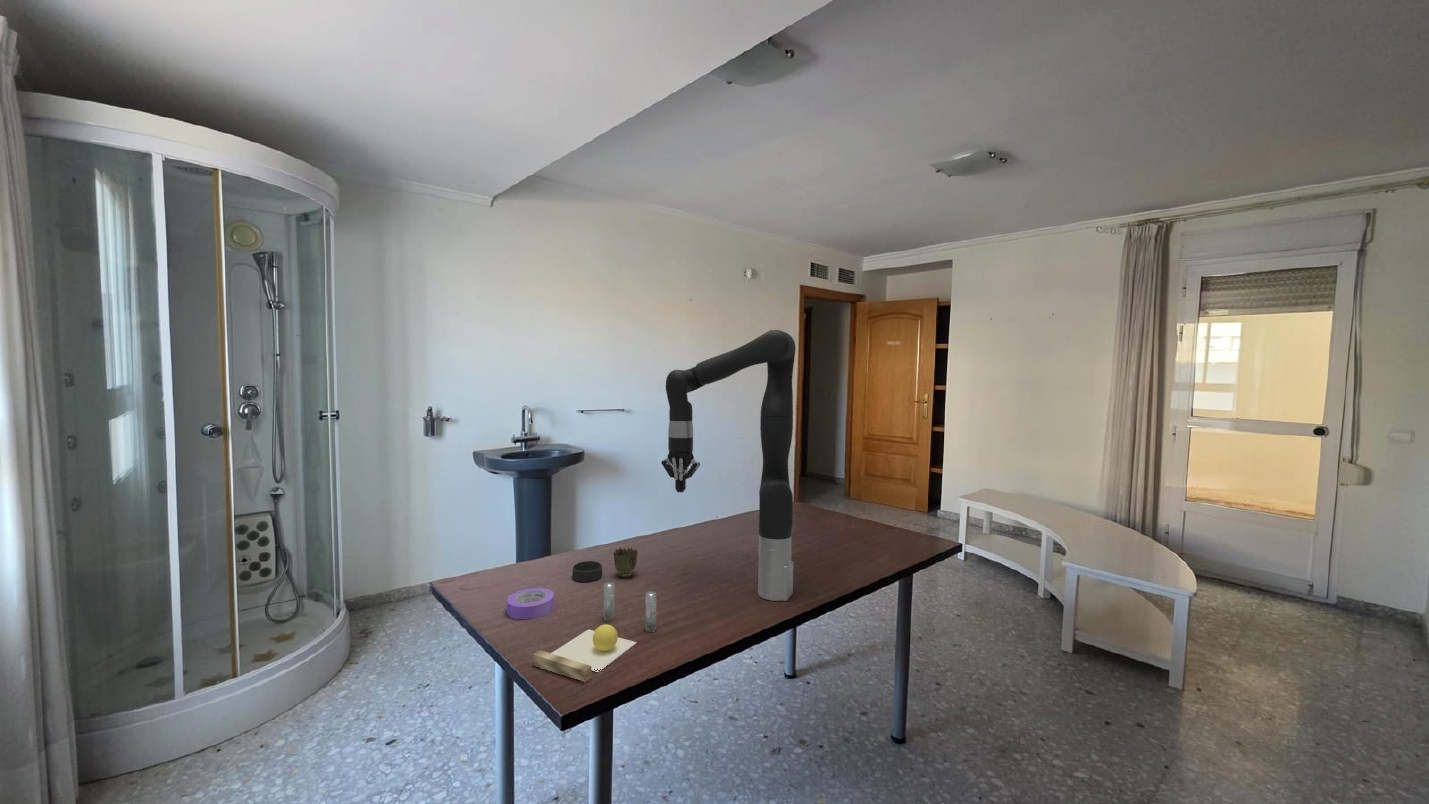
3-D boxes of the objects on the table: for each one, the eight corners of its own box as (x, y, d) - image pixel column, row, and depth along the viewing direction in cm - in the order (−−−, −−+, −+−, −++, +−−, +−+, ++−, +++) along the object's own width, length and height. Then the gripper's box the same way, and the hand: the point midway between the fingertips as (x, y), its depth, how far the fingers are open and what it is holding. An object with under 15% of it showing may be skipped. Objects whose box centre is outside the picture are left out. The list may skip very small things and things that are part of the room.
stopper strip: (591, 678, 105) (591, 666, 105) (584, 683, 103) (584, 671, 103) (539, 661, 111) (539, 650, 111) (532, 666, 109) (532, 654, 109)
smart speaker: (599, 583, 156) (599, 570, 155) (569, 583, 155) (569, 570, 155) (603, 572, 164) (603, 560, 164) (575, 573, 164) (575, 560, 164)
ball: (607, 644, 111) (614, 658, 114) (617, 621, 116) (624, 635, 119) (585, 640, 113) (592, 654, 116) (596, 617, 117) (602, 631, 120)
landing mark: (636, 643, 119) (636, 642, 119) (597, 673, 106) (597, 672, 106) (588, 630, 125) (588, 629, 125) (546, 657, 113) (546, 656, 113)
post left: (616, 618, 132) (616, 583, 132) (609, 622, 129) (610, 586, 129) (608, 616, 133) (608, 581, 133) (601, 620, 131) (601, 585, 130)
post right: (658, 628, 126) (658, 592, 126) (652, 633, 124) (652, 596, 124) (649, 626, 127) (649, 590, 127) (643, 630, 125) (643, 594, 125)
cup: (632, 581, 156) (632, 555, 156) (609, 579, 158) (609, 553, 157) (640, 573, 163) (640, 548, 163) (618, 571, 165) (619, 546, 165)
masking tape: (535, 623, 129) (535, 608, 129) (497, 617, 132) (497, 602, 132) (562, 604, 140) (562, 590, 140) (526, 599, 144) (526, 585, 143)
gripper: (705, 435, 158) (705, 491, 158) (668, 433, 164) (668, 487, 164) (694, 437, 151) (693, 496, 152) (655, 435, 157) (655, 492, 158)
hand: (680, 491), depth 158 cm, fingers closed
